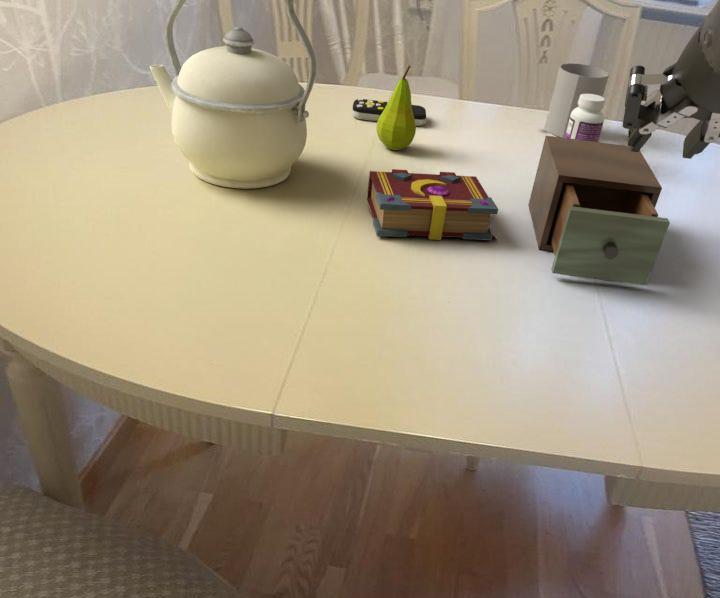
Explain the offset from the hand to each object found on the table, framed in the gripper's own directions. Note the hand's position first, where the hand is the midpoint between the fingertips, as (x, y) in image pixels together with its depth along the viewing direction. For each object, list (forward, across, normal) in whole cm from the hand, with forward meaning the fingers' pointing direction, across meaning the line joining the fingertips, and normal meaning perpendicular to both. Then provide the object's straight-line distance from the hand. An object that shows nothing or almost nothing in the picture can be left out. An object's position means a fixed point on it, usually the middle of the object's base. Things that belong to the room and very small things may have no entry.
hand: (660, 145), depth 75 cm
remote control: (+55, +28, -29) cm, 68 cm away
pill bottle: (+48, -4, -22) cm, 53 cm away
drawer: (+20, 0, +4) cm, 21 cm away
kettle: (+33, +49, -7) cm, 60 cm away
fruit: (+45, +26, -19) cm, 55 cm away
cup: (+59, -4, -33) cm, 67 cm away
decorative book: (+26, +20, 0) cm, 33 cm away
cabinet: (+27, 0, -2) cm, 27 cm away
